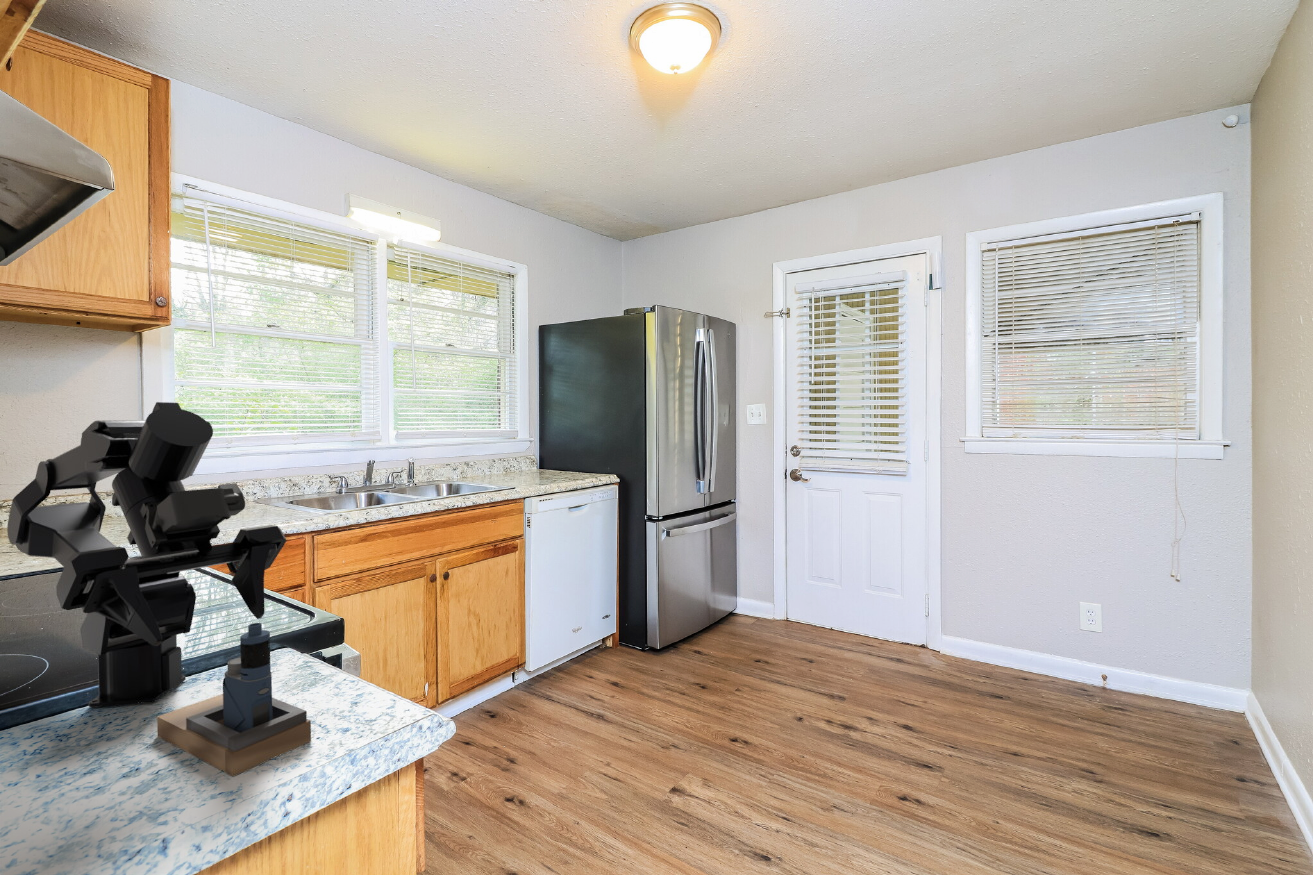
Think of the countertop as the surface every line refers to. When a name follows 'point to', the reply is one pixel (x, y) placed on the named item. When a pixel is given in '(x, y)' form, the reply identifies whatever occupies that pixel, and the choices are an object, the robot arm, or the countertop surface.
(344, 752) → the countertop surface
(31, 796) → the countertop surface
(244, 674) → the vaping device
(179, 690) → the countertop surface
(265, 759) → the walnut socket board
